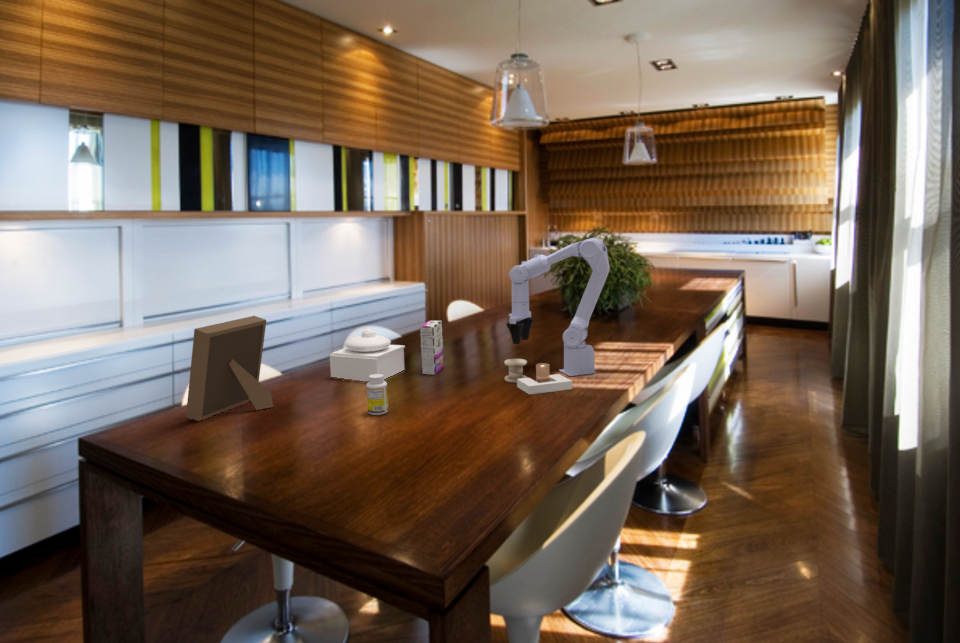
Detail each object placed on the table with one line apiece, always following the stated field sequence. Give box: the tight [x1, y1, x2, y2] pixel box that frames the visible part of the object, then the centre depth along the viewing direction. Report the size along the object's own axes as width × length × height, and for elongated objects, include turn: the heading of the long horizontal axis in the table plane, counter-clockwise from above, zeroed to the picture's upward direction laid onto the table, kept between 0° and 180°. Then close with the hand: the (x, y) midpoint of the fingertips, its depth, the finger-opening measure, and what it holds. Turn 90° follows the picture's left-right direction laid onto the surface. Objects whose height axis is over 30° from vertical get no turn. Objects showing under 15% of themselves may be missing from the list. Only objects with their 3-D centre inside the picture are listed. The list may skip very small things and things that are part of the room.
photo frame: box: [185, 315, 274, 421], centre depth 176 cm, size 15×22×25 cm
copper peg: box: [535, 362, 551, 383], centre depth 195 cm, size 4×4×7 cm
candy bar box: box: [419, 320, 445, 376], centre depth 217 cm, size 11×5×16 cm, turn 168°
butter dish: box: [329, 328, 406, 381], centre depth 214 cm, size 18×18×16 cm
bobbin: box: [504, 358, 528, 384], centre depth 205 cm, size 7×7×6 cm
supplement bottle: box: [365, 374, 390, 416], centre depth 174 cm, size 6×6×10 cm
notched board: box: [516, 373, 573, 395], centre depth 195 cm, size 14×9×2 cm, turn 110°
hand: (520, 341), depth 217 cm, fingers open, 7 cm apart
